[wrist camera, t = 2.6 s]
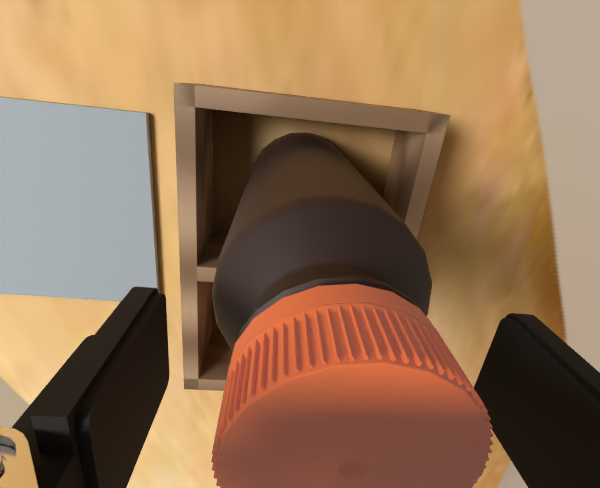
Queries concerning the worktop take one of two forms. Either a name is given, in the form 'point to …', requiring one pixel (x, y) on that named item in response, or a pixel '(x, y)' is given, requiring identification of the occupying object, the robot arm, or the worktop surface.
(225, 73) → the worktop surface
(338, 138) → the worktop surface
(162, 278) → the worktop surface
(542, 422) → the robot arm
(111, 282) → the mat
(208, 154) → the rack
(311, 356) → the vinegar
